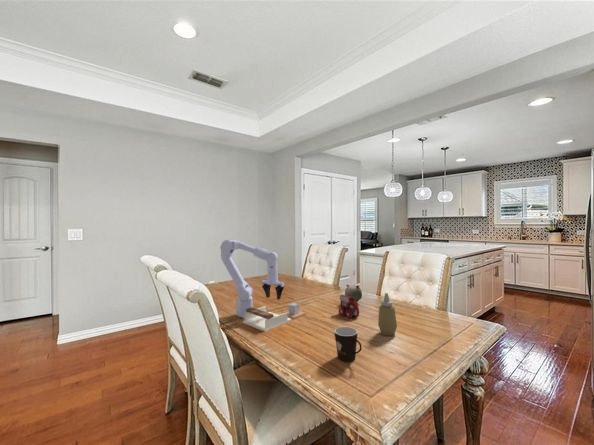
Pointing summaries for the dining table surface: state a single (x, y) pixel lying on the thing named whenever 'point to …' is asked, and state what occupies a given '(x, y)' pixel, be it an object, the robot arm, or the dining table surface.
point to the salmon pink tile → (296, 315)
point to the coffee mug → (346, 343)
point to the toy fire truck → (348, 306)
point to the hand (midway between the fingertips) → (273, 298)
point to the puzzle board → (262, 322)
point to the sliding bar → (259, 313)
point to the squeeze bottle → (387, 317)
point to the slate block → (293, 308)
